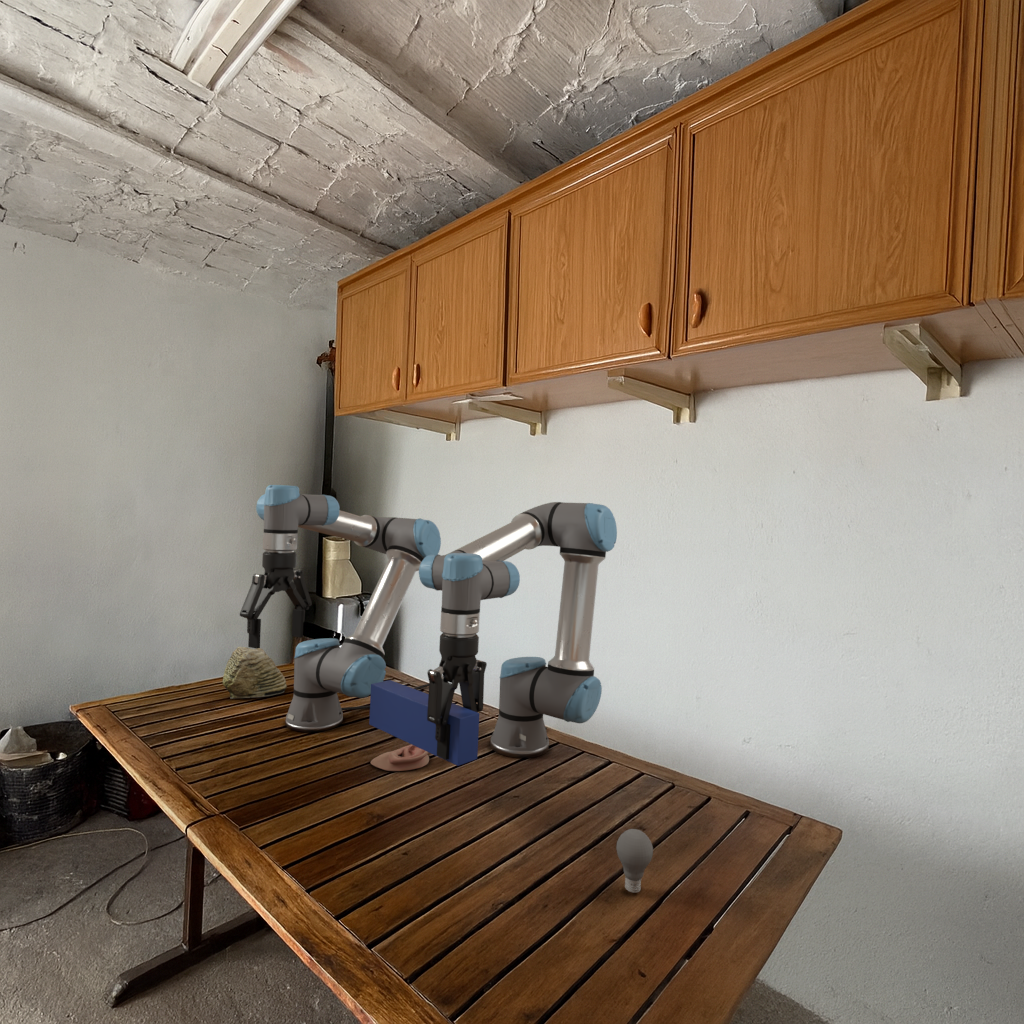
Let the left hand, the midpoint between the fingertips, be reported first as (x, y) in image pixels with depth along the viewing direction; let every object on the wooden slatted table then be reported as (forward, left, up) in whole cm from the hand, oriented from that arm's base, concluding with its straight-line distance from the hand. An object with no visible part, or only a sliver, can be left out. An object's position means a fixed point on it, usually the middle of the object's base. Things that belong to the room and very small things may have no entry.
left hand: (276, 642), depth 148 cm
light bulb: (-14, +86, -29) cm, 92 cm away
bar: (-9, +40, -14) cm, 44 cm away
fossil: (-24, -50, -29) cm, 62 cm away
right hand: (-8, +51, -14) cm, 53 cm away
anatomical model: (-22, +20, -29) cm, 41 cm away
